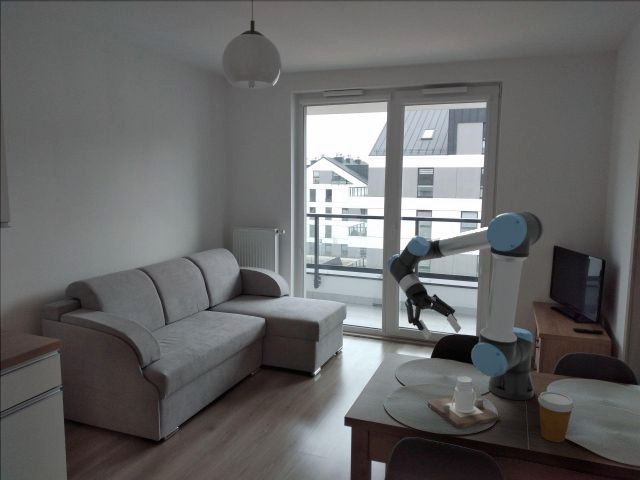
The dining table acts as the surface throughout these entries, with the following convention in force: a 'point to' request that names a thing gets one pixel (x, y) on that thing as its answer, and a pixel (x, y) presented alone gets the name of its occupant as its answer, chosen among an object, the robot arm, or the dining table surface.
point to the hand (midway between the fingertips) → (444, 333)
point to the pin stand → (464, 419)
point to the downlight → (464, 395)
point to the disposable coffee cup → (554, 415)
